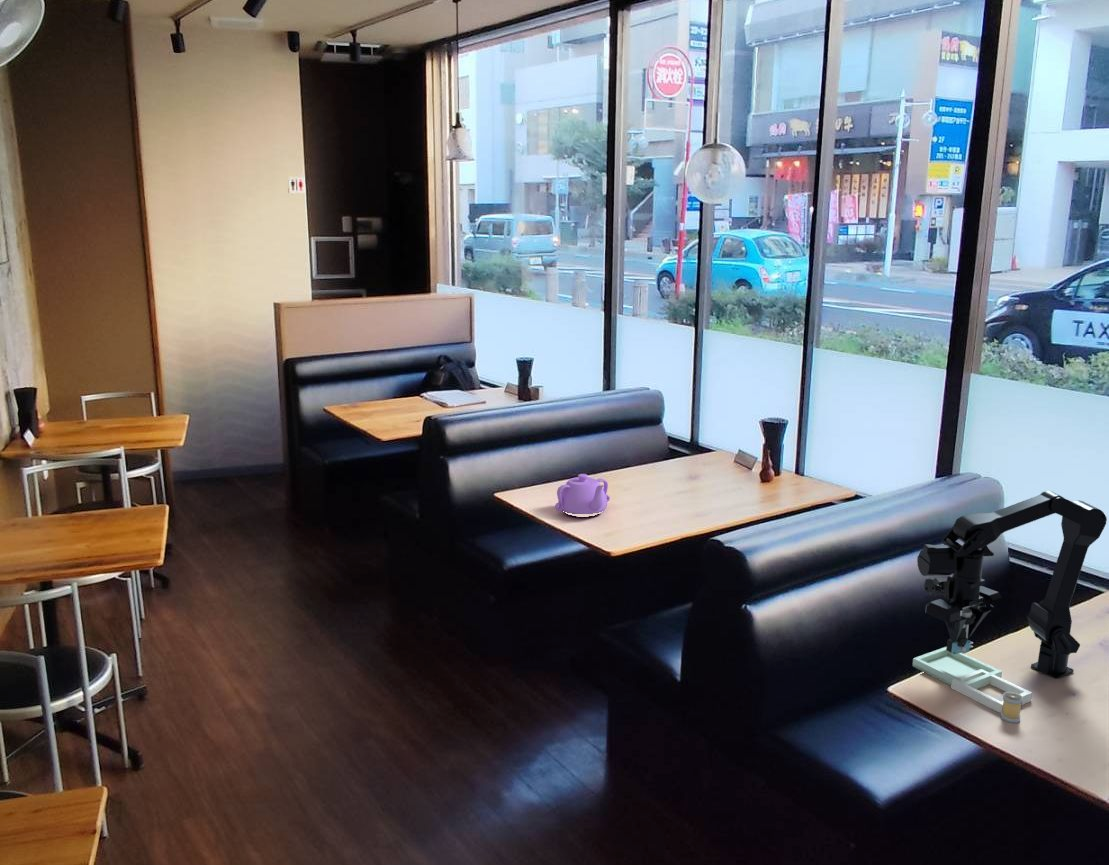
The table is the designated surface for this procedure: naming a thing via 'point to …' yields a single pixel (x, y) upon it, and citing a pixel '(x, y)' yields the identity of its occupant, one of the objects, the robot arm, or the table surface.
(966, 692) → the pale rectangular frame
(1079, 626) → the table surface
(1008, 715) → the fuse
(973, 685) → the parts tray
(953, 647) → the push button
